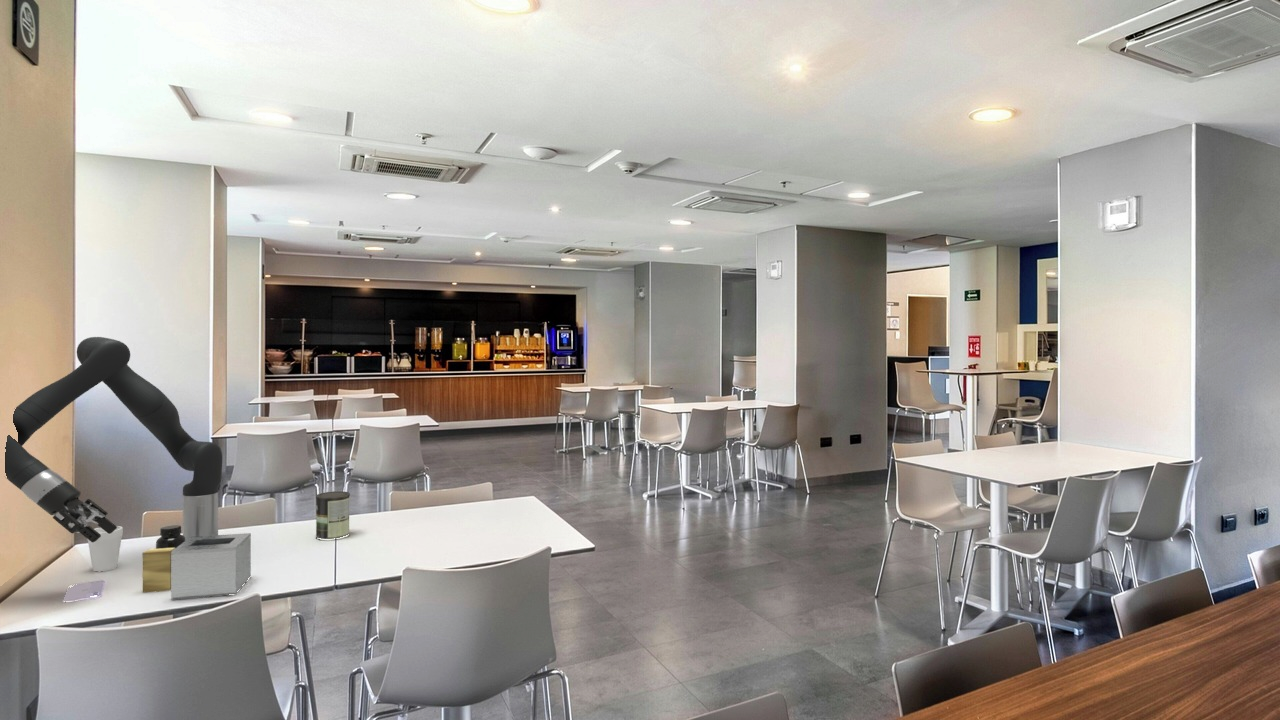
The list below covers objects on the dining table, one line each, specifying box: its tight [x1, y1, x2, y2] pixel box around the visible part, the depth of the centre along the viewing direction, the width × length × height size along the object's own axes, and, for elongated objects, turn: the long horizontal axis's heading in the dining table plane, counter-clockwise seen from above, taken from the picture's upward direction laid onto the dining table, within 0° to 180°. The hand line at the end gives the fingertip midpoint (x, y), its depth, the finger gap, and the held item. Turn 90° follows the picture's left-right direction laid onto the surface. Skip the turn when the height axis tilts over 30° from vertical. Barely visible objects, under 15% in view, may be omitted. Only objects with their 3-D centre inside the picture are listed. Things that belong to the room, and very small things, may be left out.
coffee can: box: [315, 490, 351, 539], centre depth 225 cm, size 10×10×14 cm
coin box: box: [170, 532, 252, 601], centre depth 175 cm, size 14×14×12 cm
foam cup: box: [86, 525, 124, 573], centre depth 190 cm, size 8×8×11 cm
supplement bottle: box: [155, 525, 185, 549], centre depth 189 cm, size 7×7×12 cm
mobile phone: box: [62, 579, 106, 602], centre depth 172 cm, size 8×1×15 cm
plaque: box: [142, 548, 175, 593], centre depth 174 cm, size 4×6×10 cm, turn 106°
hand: (105, 535), depth 170 cm, fingers open, 8 cm apart
